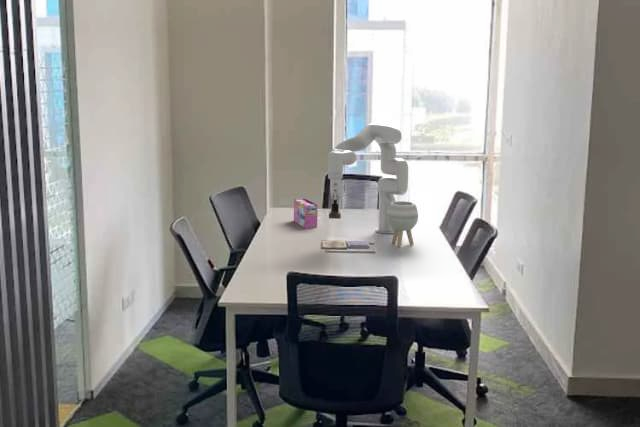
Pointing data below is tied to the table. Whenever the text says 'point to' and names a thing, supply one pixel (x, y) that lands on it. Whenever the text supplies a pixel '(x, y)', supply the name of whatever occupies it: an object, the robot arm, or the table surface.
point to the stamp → (335, 214)
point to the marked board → (334, 244)
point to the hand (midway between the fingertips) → (334, 210)
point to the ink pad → (358, 244)
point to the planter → (402, 220)
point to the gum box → (305, 213)
